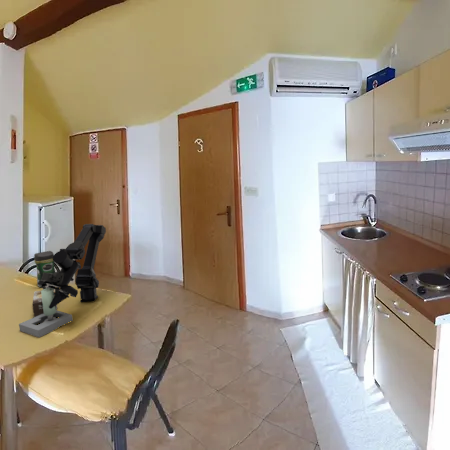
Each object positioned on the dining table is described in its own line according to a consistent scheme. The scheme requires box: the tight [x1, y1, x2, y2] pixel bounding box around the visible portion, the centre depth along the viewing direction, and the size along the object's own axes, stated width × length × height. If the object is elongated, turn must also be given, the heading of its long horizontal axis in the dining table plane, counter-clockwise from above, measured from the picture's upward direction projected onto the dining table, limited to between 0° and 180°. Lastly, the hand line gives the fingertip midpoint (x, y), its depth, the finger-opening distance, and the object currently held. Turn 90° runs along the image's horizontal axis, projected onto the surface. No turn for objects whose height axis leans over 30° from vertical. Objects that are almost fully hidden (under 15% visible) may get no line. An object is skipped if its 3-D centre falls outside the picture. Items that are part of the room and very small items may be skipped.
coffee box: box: [31, 289, 58, 318], centre depth 154 cm, size 9×6×16 cm
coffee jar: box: [33, 250, 56, 288], centre depth 183 cm, size 10×8×19 cm
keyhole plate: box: [18, 309, 74, 338], centre depth 138 cm, size 15×12×3 cm
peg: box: [40, 288, 57, 322], centre depth 139 cm, size 5×5×14 cm
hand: (46, 307), depth 137 cm, fingers closed on peg, 4 cm apart
